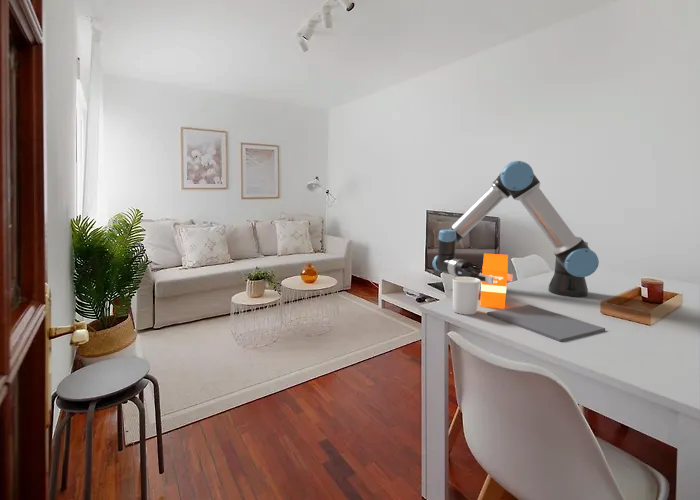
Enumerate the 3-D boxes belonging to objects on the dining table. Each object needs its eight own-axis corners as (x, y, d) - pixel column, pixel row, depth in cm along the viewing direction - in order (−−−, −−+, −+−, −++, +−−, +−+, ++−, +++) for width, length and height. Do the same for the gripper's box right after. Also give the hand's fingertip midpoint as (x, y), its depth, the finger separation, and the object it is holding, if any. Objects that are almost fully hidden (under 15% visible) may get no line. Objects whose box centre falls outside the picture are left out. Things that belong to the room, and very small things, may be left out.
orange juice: (504, 308, 143) (509, 256, 140) (480, 306, 145) (483, 254, 142) (503, 303, 150) (507, 253, 147) (480, 300, 153) (483, 251, 150)
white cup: (445, 309, 141) (446, 277, 140) (466, 306, 145) (468, 275, 143) (462, 316, 132) (464, 283, 131) (484, 313, 136) (486, 281, 134)
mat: (529, 306, 145) (529, 304, 145) (604, 330, 121) (605, 328, 121) (487, 314, 136) (487, 312, 136) (560, 341, 111) (560, 339, 111)
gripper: (480, 275, 167) (522, 286, 148) (439, 279, 157) (480, 292, 138) (481, 258, 166) (524, 267, 147) (440, 261, 156) (481, 271, 137)
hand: (502, 279), depth 142 cm, fingers closed on orange juice, 10 cm apart
